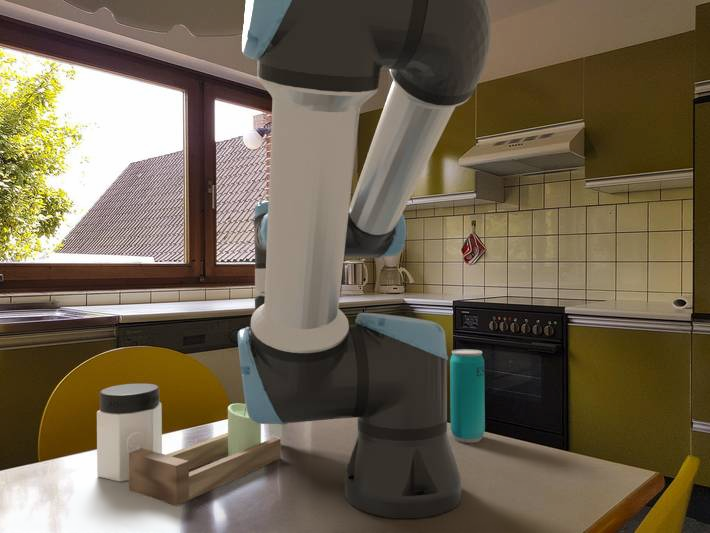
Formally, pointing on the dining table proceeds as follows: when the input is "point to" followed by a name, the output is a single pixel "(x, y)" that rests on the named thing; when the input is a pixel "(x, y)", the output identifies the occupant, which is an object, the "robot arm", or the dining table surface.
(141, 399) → the jar
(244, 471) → the channel
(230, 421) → the candle
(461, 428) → the beverage can
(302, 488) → the dining table surface
